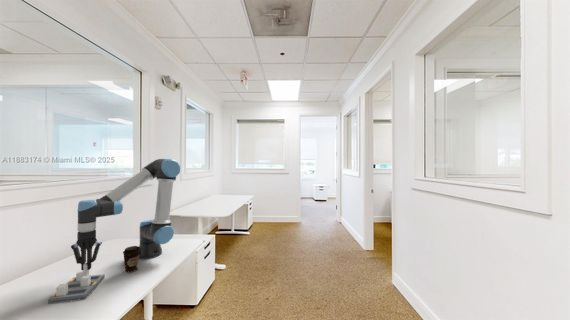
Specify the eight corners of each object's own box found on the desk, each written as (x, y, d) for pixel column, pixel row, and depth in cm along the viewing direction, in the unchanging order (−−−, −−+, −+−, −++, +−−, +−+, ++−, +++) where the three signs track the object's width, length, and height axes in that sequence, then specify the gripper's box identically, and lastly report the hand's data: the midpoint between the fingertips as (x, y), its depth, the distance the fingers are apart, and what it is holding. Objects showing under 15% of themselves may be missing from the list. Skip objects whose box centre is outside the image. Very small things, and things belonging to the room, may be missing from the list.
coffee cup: (143, 268, 145) (143, 246, 145) (130, 274, 137) (130, 251, 137) (132, 266, 148) (132, 244, 148) (119, 272, 140) (119, 249, 140)
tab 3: (90, 284, 124) (90, 275, 124) (87, 287, 121) (87, 277, 121) (83, 285, 123) (83, 275, 123) (80, 287, 120) (80, 278, 120)
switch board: (104, 277, 133) (104, 273, 133) (85, 298, 113) (85, 293, 113) (73, 281, 129) (73, 277, 129) (47, 303, 109) (47, 298, 109)
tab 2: (86, 279, 129) (86, 270, 129) (83, 281, 126) (83, 272, 126) (79, 279, 128) (79, 271, 128) (76, 282, 125) (76, 273, 125)
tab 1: (67, 293, 115) (68, 283, 115) (64, 296, 112) (64, 286, 112) (60, 294, 114) (60, 284, 114) (56, 297, 111) (56, 287, 111)
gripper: (104, 227, 133) (103, 271, 133) (75, 229, 130) (74, 274, 129) (98, 231, 126) (97, 277, 126) (67, 233, 122) (66, 281, 122)
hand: (86, 276), depth 128 cm, fingers closed
